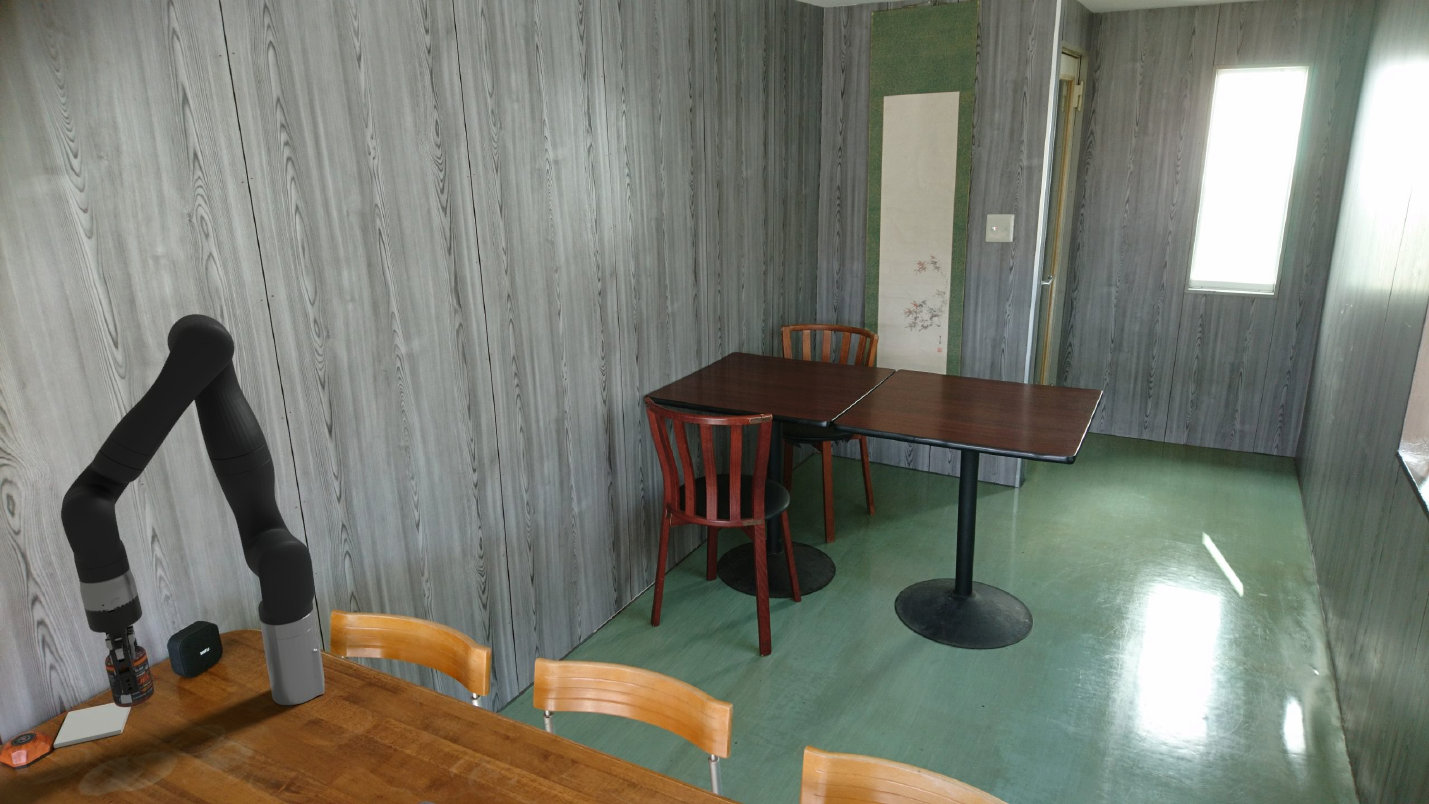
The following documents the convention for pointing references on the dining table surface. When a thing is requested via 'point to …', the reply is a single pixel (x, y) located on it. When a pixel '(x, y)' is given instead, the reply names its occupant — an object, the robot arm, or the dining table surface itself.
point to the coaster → (92, 724)
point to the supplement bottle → (142, 677)
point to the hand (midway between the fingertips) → (131, 683)
